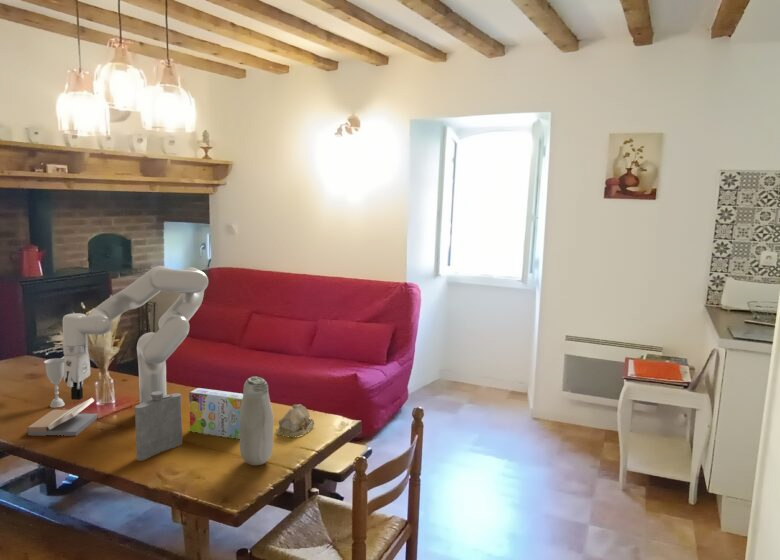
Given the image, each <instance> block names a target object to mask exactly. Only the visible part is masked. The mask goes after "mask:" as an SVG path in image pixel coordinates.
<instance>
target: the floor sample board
mask: <svg viewBox="0 0 780 560" xmlns="http://www.w3.org/2000/svg"><path fill="white" fill-rule="evenodd" d="M69 410H70V409H52V410H50V411H49V412H48V413H46V414H45V415H43V416H42V417H40V418H39V419H37V420H36V421H34V422H33V423H32V424H30V425H29V426H27V434H28V435H29V436H30V435H31V436H43V437H45V436H46V435H58V436H59V435H61V437H66V436H67V437H76V436H78V435H79V434H81V433H82V431H84V430H85V429H86V428H87V427H89V426H90V425H91V424H93V422H95V421H96V420H97V419H98V418H99V414H98V413H78V414H77V415H75V416H74V417H72V418H71V419H69V420H67V421H65V422H63V423H61V424H59V425H58V426H56V427H54V428H52V429H50V430H49V428H48V427H47V426H48V425H50V424H51V423H52V422H54V421H55V420H56V419H58V418H59V417H60V416H62V415H63V414H65V413H66V412H67V411H69ZM97 417H98V418H97ZM28 435H27V436H28ZM63 435H64V436H63ZM58 436H57V437H58ZM46 437H47V436H46Z"/></svg>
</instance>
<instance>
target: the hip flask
mask: <svg viewBox="0 0 780 560" xmlns="http://www.w3.org/2000/svg"><path fill="white" fill-rule="evenodd" d="M162 395H163V392H162V391H155V392H152V393H151V396H152V400H149V401H146V402H144V403H141V404H140V403H139V404H136V405H135V406H134V417H135V420H134V421H135V446H136V448H135V449H136V460H137V461H138V462H140V461H141V460H142V461H146V460H148V459H149V457H150V458H152V457H154V456H155V454H156V455H158V454H160V452H161V453H163V452H165V450H166V451H168V450H171V449H174V448H177V447H176V446H178V447H180V445H181V446H182V445H183V421H182V420H183V418H182V394H181V393H178V392H177V393H170V394H167V395H164V396H162ZM173 447H174V448H173ZM170 448H171V449H170ZM162 451H163V452H162ZM153 455H154V456H153ZM151 456H152V457H151ZM147 458H148V459H147ZM145 459H146V460H145ZM142 461H141V462H142Z"/></svg>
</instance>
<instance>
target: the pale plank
mask: <svg viewBox="0 0 780 560" xmlns="http://www.w3.org/2000/svg"><path fill="white" fill-rule="evenodd" d="M94 402H95V399H94V398H93V397H90V398H89V399H87V400H85V401H83V402H81V403H79V404H78V405H76V406H74V407H72V408H70V409H68V410H69V411H67V412H66V413H65V414H63V415H62V416H60V417H59V418H58V419H56V420H55V421H54V422H52V423H51V424H50V425H48V426H47V427H48V428H49V430H50V429H52V428H54V427H56V426H58V425H59V424H61V423H63V422H65V421H67V420H69V419H71V418H72V417H74V416H75V415H77V414H80V413H81V412H82V411H83V410H85V409H86V408H88V406H90V405H91V404H92V403H94Z"/></svg>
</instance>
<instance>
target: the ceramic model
mask: <svg viewBox="0 0 780 560" xmlns="http://www.w3.org/2000/svg"><path fill="white" fill-rule="evenodd" d="M310 417H311V416H310V413H309V411H308V409H307V407H306V406H303V404H300V403H299V404H297V403H294V404H292V407H291V408H289V409H288V411H287V412H286V413H285V414H284V416H283V417H282V418H281V419H280V420H278V421H277V423H278V428H276V430H275V435H276V434H277V436H278V435H284V436H289V437H295V436H300V435H304V434H305V433H307V432H308V431H309V432H311V431H312V430H313V427H314V426H315V420H314V419H313V418H310ZM309 432H308V433H309ZM308 433H307V434H308ZM305 435H306V434H305ZM305 435H304V436H305ZM284 436H283V437H284ZM289 437H288V438H289Z"/></svg>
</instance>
